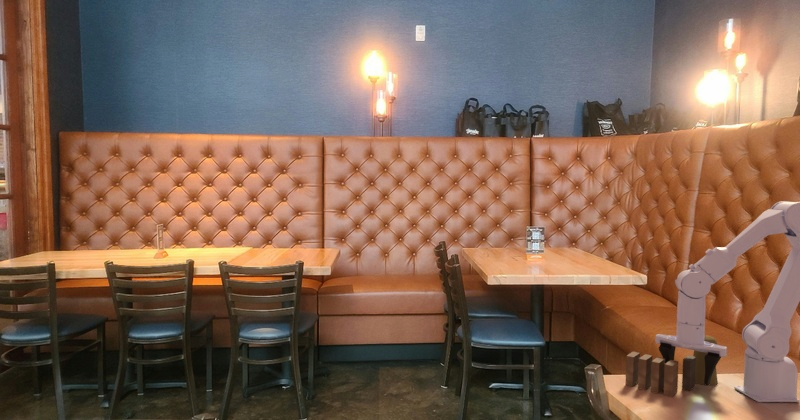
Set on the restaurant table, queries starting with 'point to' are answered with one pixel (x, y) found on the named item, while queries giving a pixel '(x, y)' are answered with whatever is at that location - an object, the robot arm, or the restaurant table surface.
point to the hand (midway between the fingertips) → (688, 379)
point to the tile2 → (671, 378)
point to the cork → (701, 364)
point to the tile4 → (644, 372)
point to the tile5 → (632, 368)
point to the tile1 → (688, 373)
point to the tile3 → (657, 374)
